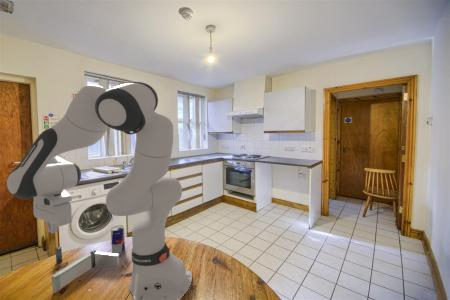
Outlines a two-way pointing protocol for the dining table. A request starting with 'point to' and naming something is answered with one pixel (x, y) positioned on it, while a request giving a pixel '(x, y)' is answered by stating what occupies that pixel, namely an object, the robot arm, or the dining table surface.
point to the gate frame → (96, 259)
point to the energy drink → (118, 240)
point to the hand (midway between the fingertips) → (52, 232)
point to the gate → (71, 272)
